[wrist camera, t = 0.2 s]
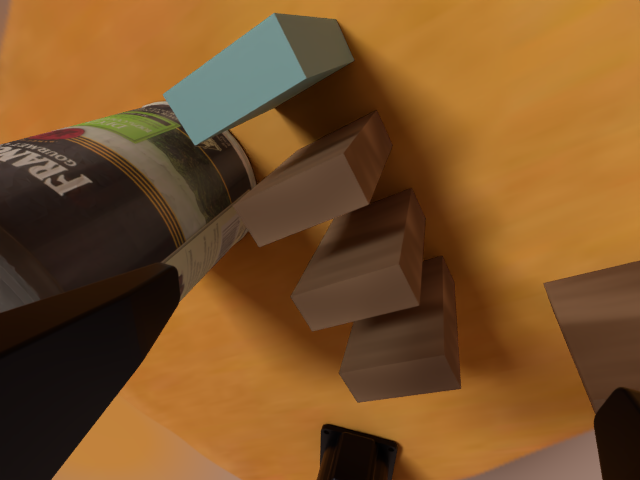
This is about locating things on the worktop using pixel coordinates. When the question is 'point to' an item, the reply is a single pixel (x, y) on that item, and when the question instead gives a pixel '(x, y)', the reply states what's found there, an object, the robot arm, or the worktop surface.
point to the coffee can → (116, 203)
